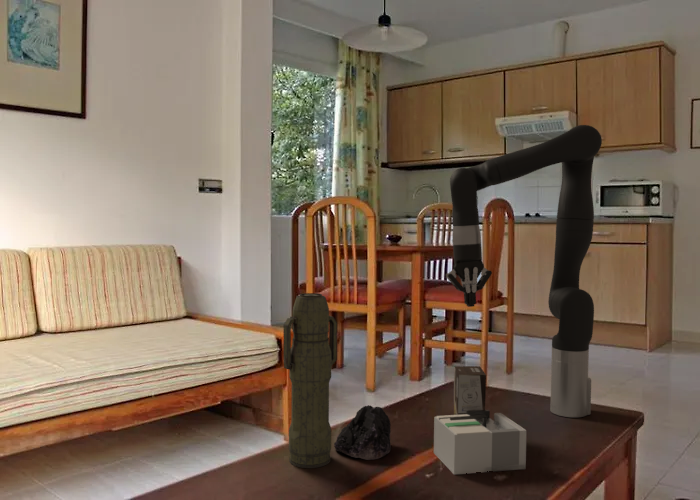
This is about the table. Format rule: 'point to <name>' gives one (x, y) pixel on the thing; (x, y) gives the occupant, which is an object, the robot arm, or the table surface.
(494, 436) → the gauge housing
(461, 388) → the coffee box
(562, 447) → the table surface
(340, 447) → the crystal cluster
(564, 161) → the robot arm
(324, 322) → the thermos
